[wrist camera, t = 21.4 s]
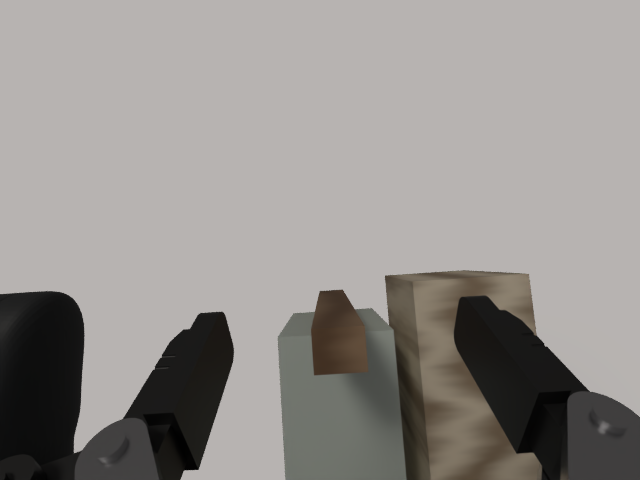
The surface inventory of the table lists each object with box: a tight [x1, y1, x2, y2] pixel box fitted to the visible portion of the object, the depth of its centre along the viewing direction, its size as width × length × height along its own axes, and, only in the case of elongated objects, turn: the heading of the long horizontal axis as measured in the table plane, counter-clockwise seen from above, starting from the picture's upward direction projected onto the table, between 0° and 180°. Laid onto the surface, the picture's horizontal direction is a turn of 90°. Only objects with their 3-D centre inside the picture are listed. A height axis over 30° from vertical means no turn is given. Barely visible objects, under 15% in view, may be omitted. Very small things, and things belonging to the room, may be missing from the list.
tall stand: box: [385, 270, 540, 480], centre depth 30 cm, size 10×12×32 cm
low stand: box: [278, 308, 407, 480], centre depth 30 cm, size 10×12×28 cm
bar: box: [311, 290, 368, 375], centre depth 27 cm, size 3×22×2 cm, turn 179°
